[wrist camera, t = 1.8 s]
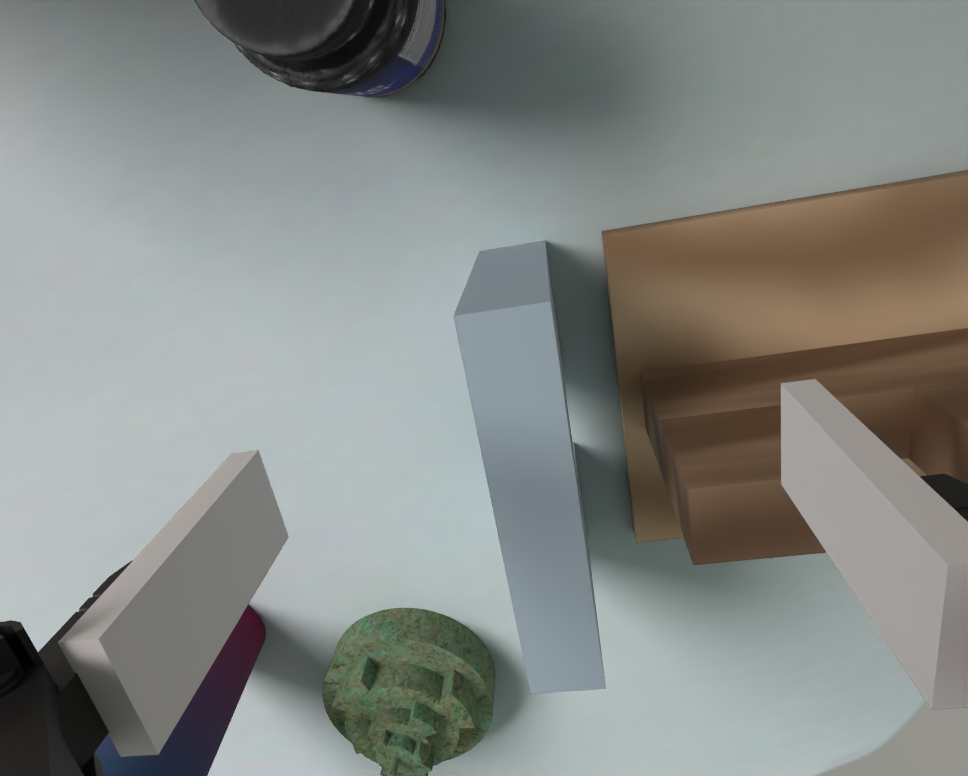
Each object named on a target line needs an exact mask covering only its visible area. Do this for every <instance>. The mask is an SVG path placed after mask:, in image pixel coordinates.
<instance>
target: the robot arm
mask: <svg viewBox="0 0 968 776" xmlns="http://www.w3.org/2000/svg"><path fill="white" fill-rule="evenodd" d="M781 485H782V486H783V488H784V489H785V491H786V492H787V494H788V495H789V497H790V498H791V500H792V501H793V503H794V504H795V506H796V507H797V509H798V510H799V512H800V513H801V515H802V516H803V518H804V519H805V521H806V522H807V524H808V525H809V527H810V528H811V530H812V531H813V533H814V534H815V536H816V537H817V539H818V540H819V542H820V543H821V545H822V546H823V548H824V549H825V551H826V552H827V554H828V555H829V557H830V558H831V560H832V561H833V563H834V564H835V566H836V567H837V569H838V570H839V572H840V573H841V575H842V576H843V578H844V579H845V581H846V582H847V584H848V585H849V587H850V588H851V590H852V591H853V593H854V594H855V596H856V597H857V599H858V600H859V602H860V603H861V605H862V606H863V608H864V609H865V611H866V612H867V614H868V615H869V617H870V618H871V620H872V621H873V623H874V624H875V626H876V627H877V629H878V630H879V632H880V633H881V635H882V636H883V638H884V639H885V641H886V642H887V644H888V645H889V647H890V648H891V650H892V651H893V653H894V654H895V656H896V657H897V659H898V660H899V662H900V663H901V665H902V666H903V668H904V669H905V671H906V672H907V674H908V675H909V677H910V678H911V680H912V681H913V683H914V684H915V686H916V687H917V689H918V690H919V692H920V693H921V695H922V696H923V698H924V699H925V701H926V702H927V704H928V705H929V707H930V708H931V710H937V709H955V708H968V484H967V483H964V482H962V481H960V480H958V479H956V478H953V477H951V476H949V475H947V474H937V475H927V476H918V475H917V474H916V473H915V472H914V471H913V470H912V469H911V468H910V467H909V466H908V465H907V464H905V463H904V462H903V461H902V460H901V459H900V458H899V457H898V456H897V455H896V454H895V453H894V452H893V451H892V450H891V449H889V448H888V447H887V446H886V445H885V444H884V443H883V442H882V441H881V440H880V439H879V438H878V437H877V436H876V435H875V434H873V433H872V432H871V431H870V430H869V429H868V428H867V427H866V426H865V425H864V424H863V423H862V422H861V421H860V420H858V419H857V418H856V417H855V416H854V415H853V414H852V413H851V412H850V411H849V410H848V409H847V408H846V407H845V406H844V405H842V404H841V403H840V402H839V401H838V400H837V399H836V398H835V397H834V396H833V395H832V394H831V393H830V392H829V391H828V390H826V389H825V388H824V387H823V386H822V385H821V384H820V383H819V382H818V381H817V380H816V379H811V380H803V381H795V382H788V383H781ZM288 537H289V536H288V533H287V531H286V528H285V525H284V522H283V519H282V516H281V513H280V511H279V508H278V505H277V502H276V499H275V496H274V493H273V491H272V488H271V485H270V482H269V479H268V476H267V473H266V470H265V468H264V465H263V462H262V459H261V456H260V453H259V450H255V451H248V452H240V453H232V454H231V455H230V456H229V457H228V458H227V459H226V460H225V461H224V462H223V463H222V464H221V465H220V467H219V468H218V469H217V470H216V471H215V472H214V473H213V474H212V475H211V476H210V477H209V479H208V480H207V481H206V482H205V483H204V484H203V485H202V486H201V487H200V488H199V489H198V490H197V492H196V493H195V494H194V495H193V496H192V497H191V498H190V499H189V500H188V501H187V502H186V504H185V505H184V506H183V507H182V508H181V509H180V510H179V511H178V512H177V513H176V514H175V516H174V517H173V518H172V519H171V520H170V521H169V522H168V523H167V524H166V525H165V526H164V527H163V529H162V530H161V531H160V532H159V533H158V534H157V535H156V536H155V537H154V538H153V539H152V541H151V542H150V543H149V544H148V545H147V546H146V547H145V548H144V549H143V550H142V551H141V553H140V554H139V555H138V556H137V557H136V558H135V559H134V560H133V561H131V562H129V563H128V564H126V565H125V566H124V567H122V568H121V569H119V570H118V571H117V572H115V573H114V574H112V575H111V576H110V577H108V578H107V580H106V581H105V582H104V583H103V584H102V585H101V586H100V587H99V588H98V589H97V590H96V591H95V592H94V593H93V597H92V598H89V599H88V600H87V601H86V602H85V603H84V604H83V605H82V606H81V607H80V608H79V609H80V610H79V612H76V613H75V614H74V615H73V616H72V617H71V618H70V619H69V620H68V621H67V622H66V623H65V624H64V625H63V626H62V627H61V629H60V630H59V631H58V632H57V633H56V634H55V635H54V636H53V637H52V638H51V639H50V640H49V641H48V642H47V643H46V645H45V646H44V647H43V648H42V649H41V650H40V651H39V652H37V650H36V649H35V647H34V645H33V643H32V642H31V640H30V638H29V636H28V635H27V633H26V631H25V629H24V628H23V626H22V624H21V622H17V621H5V622H0V776H104V771H103V766H102V764H101V762H100V761H99V759H98V757H97V755H96V754H95V751H96V750H97V749H98V747H99V746H100V744H101V743H102V741H103V740H104V739H105V737H106V736H107V734H108V735H109V736H110V738H111V740H112V742H113V744H114V745H115V747H116V749H117V751H118V753H119V755H120V756H121V757H125V756H143V755H159V753H160V751H161V749H162V748H163V746H164V744H165V743H166V741H167V739H168V738H169V736H170V734H171V733H172V731H173V729H174V728H175V726H176V724H177V723H178V721H179V719H180V718H181V716H182V714H183V713H184V711H185V709H186V708H187V706H188V704H189V703H190V701H191V699H192V698H193V696H194V694H195V693H196V691H197V689H198V688H199V686H200V684H201V683H202V681H203V679H204V678H205V676H206V674H207V673H208V671H209V669H210V668H211V666H212V664H213V663H214V661H215V659H216V658H217V656H218V654H219V652H220V651H221V649H222V647H223V646H224V644H225V642H226V641H227V639H228V637H229V636H230V634H231V632H232V631H233V629H234V627H235V626H236V624H237V622H238V621H239V619H240V617H241V616H242V614H243V612H244V611H245V609H246V607H247V606H248V604H249V602H250V601H251V599H252V597H253V596H254V594H255V592H256V591H257V589H258V587H259V586H260V584H261V582H262V581H263V579H264V577H265V576H266V574H267V572H268V571H269V569H270V567H271V566H272V564H273V562H274V561H275V559H276V557H277V556H278V554H279V552H280V550H281V549H282V547H283V545H284V544H285V542H286V540H287V539H288Z"/></svg>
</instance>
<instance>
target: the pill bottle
mask: <svg viewBox="0 0 968 776" xmlns="http://www.w3.org/2000/svg"><path fill="white" fill-rule="evenodd" d="M194 1H195V3H196V4H197V6H198V7H199V9H200V10H201V12H202V13H203V15H204V16H205V17H206V18H207V19H208V20H209V22H210V23H211V24H212V25H213V26H214V27H215V28H216V29H217V30H218V31H219V32H220V33H222V34H223V35H224V36H225V37H227V38H228V39H229V40H231V41H232V42H233V43H235V45H236V47H237V49H238V50H239V51H240V52H242V53H243V54H244V56H245V57H246V58H247V59H248V60H249V61H250V62H251V63H252V64H254V65H255V66H256V67H257V68H259V69H260V70H261V71H262V72H264V73H265V74H268V75H269V76H271V77H273V78H274V79H277V80H278V81H281V82H283V83H285V84H287V85H289V86H291V87H296V88H300V89H305V90H310V91H319V92H328V93H335V94H344V95H355V96H365V97H382V96H387V95H390V94H393V93H395V92H397V91H399V90H401V89H403V88H405V87H407V86H409V85H410V84H412V83H413V82H415V81H417V80H418V79H419V78H420V77H422V76H423V74H424V73H425V72H426V71H427V69H428V68H429V67H430V65H431V64H432V62H433V60H434V59H435V57H436V55H437V52H438V50H439V48H440V44H441V40H442V37H443V33H444V27H445V20H446V7H445V0H194Z"/></svg>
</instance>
